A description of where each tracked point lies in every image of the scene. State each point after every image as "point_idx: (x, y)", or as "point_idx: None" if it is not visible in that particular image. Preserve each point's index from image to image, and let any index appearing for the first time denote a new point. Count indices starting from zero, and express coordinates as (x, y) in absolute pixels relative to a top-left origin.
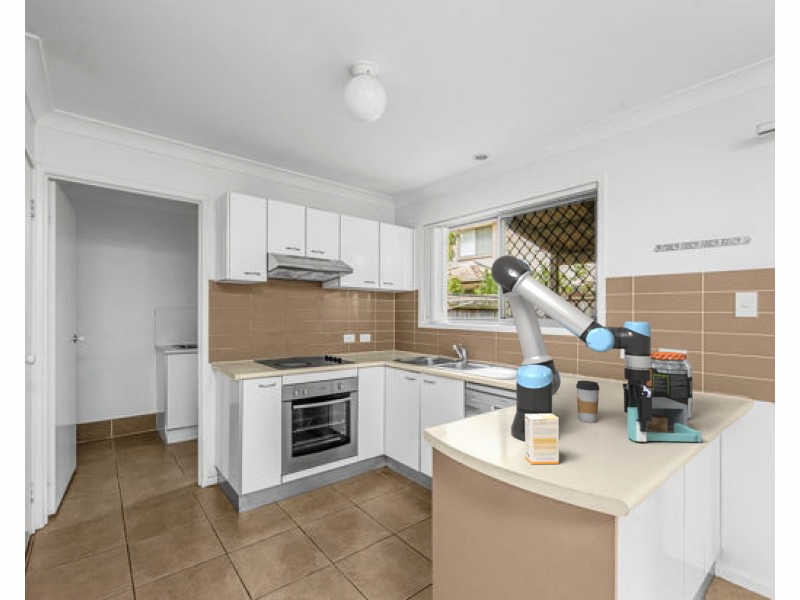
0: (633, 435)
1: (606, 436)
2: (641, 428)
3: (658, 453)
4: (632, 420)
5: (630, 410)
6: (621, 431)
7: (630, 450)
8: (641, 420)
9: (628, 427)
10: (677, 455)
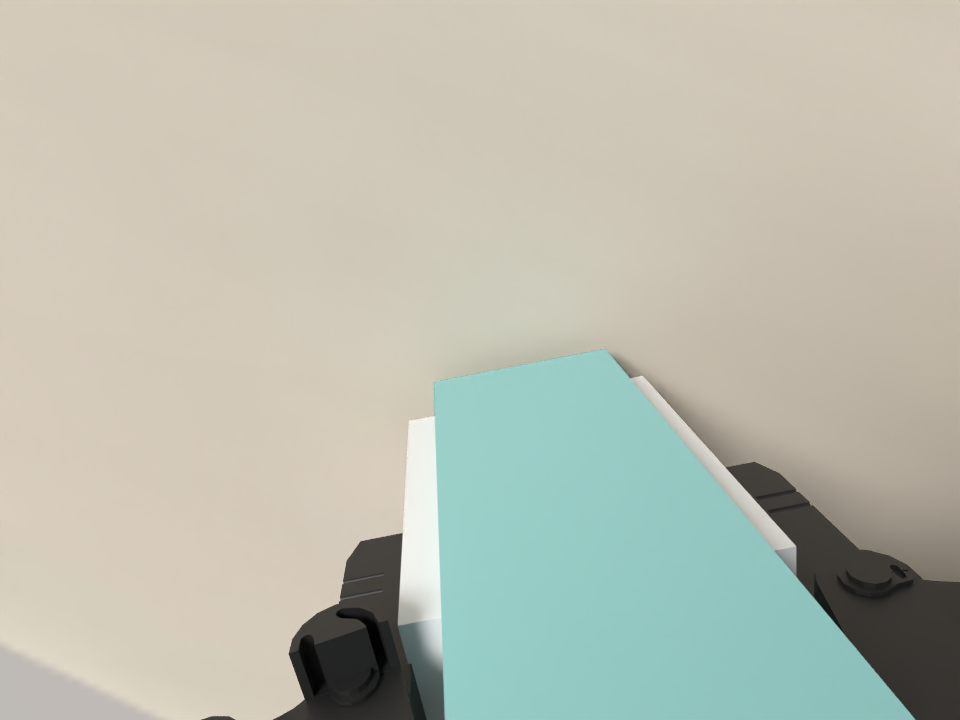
0: (459, 407)
1: (672, 56)
2: (366, 576)
3: (106, 523)
4: (514, 540)
5: (692, 710)
6: (920, 365)
7: (74, 215)
8: (316, 705)
9: (621, 414)
10: (123, 680)
